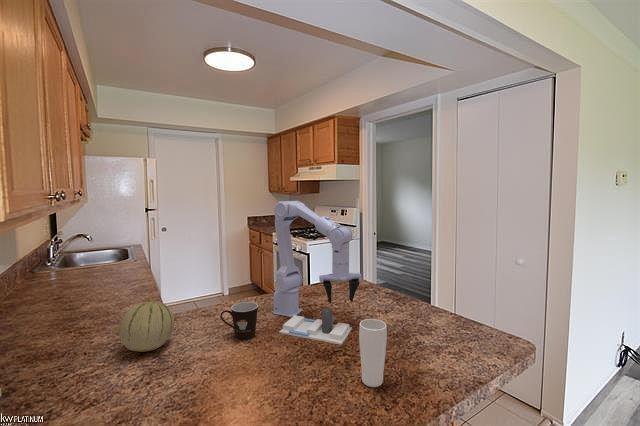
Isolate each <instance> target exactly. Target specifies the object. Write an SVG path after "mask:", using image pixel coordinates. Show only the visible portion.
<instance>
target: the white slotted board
mask: <svg viewBox="0 0 640 426" xmlns="http://www.w3.org/2000/svg"><path fill="white" fill-rule="evenodd" d="M352 330H353V327H352V326H350V324H349V323H343V322H337V323H336V324H333V330H332V331H331V332H330V333H329V334H325V333H323V332H322V319H318V318H317V319H311V318H306V317H305V316H300V315H294V316H293V317H290V319H288V320H287V321H286V322H285V323H284V324H283V325H282V329H281V330H279V334H282V335H283V334H284V335H287V336H288V335H289V336H293V337H298V338H303V339H307V340H308V339H310V340H314V341H318V342H319V341H320V342H326V343H329V344H336V345H343V343H344V342H345V340H346V339H347V337H348V335H349V334H350V333H351V331H352Z"/></svg>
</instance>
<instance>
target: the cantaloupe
mask: <svg viewBox="0 0 640 426" xmlns="http://www.w3.org/2000/svg"><path fill="white" fill-rule="evenodd" d="M174 327H175V316H174V313H173V311H172V309H170V307H169V306H168V305H166V304H164V303H163V302H160V301H154V300H153V299H152V298H151V297H148V301H143V302H139V303H136V304H134V305H132V306H131V307H130V308H129V309H127V310H126V312H125V313H124V314H123V316H122V317H121V319H120V322H119V325H118V336H119V337H118V338H119V340H120V342H121V344H123V346H124V347H125V348H126V349H127V350H129V351H131V352H132V351H133V352H139V353H146V352H149V351H150V352H151V351H154V350H157V349H158V348H160V347H162V346H163V345H165V343H166V342H167V341H168V340H169V339H170V337H171V336H172V335H173V332H174Z"/></svg>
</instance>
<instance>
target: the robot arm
mask: <svg viewBox="0 0 640 426" xmlns="http://www.w3.org/2000/svg"><path fill="white" fill-rule="evenodd" d="M273 210H274V211H273V212H274V229H275V235H276V242H277V249H278V256H279V257H278V258H279V264H280V265H279V266H280V267H279V268H278V269H277V271H276V273H275V275H276V277H275V287H276V290H275V291H274V293H273V298H272V299H273V302H272V303H273V312H272V315H276V316H278V315H279V316H284V317H289V318H292V317H293V316H294V315H296V316H298V314H300V313H302V311H303V308H301V307H300V308H299V306H300V305H299V299H300V298H299V290H300V287H301V286H302V285H303V277H302V274H301V271H300V268H299V267H298V266H296V264H295V260H294V259H295V257H294V251H293V243H292V237H291V230H290V225H291V224H292V222H293V221H294V220H296V219H297V218H299V217H300V218H302V219H304V220H306V221H308V222H309V223H311V224H312V225H314V226H315V227H314V228H315V230H316V231H317V232H319V233H320V234H322V235H323V236H325V237H326V238H328V240H329V243H330V244H331V251H332V253H331V254H332V263H331V264H332V273H329V274H323V275H321V274H320V275H319V282H320V283H322V285H323V288H324V289H325V293H326V297H327V302H328V303H329V304H332V290H333V289H332V287H333V284H332V282H339V281H340V282H342V281H348V287H349V294H348V295H349V301H350V302H354V297H355V294H356V291H357V289H358V287H359V285H360V281H362V278H363V277H362V275H363V274H362V273H360V272H357V273H353V272H350V243H351V241H352V240H353V231H352V229H351V228H349V227H348V226H341V224H340V223H336V222H335V221H334V220H332V219H331V217H330V216H328V215H326V216H324V215H323V216H319V214H317V213H316V212H314V211H313V210H311V209H310V208H308V207H307V206H306V205H305V203H304V202H301V201H299V200H287V201H286V200H285V201H284V200H280V201H278V202H277V203H276V204H275V205H274V207H273Z"/></svg>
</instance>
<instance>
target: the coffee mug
mask: <svg viewBox="0 0 640 426" xmlns="http://www.w3.org/2000/svg"><path fill="white" fill-rule="evenodd" d="M258 309H259V304H257V303H256V302H253V301H243V302H238V303H236V304H235V303H234V304H233V305H232V306H231V307H230V310H228V309H225V310H222V312H220V314H219V315H220V317H219V318H220V320H221V321H222V322H223V323H225V324H226V325H227V326H229V327H231V328H232V329H233V331H234V337H235V339H236V341H240V342H244V341H250V340H252V339H254V338H255V337H256V331H257V330H256V329H257V318H258ZM224 313H228V314H229V315H230V316H231V317H232V322H233V323H232V324H231V323H230V322H228V321H227V320H225V319H224V317H223V315H224Z"/></svg>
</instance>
